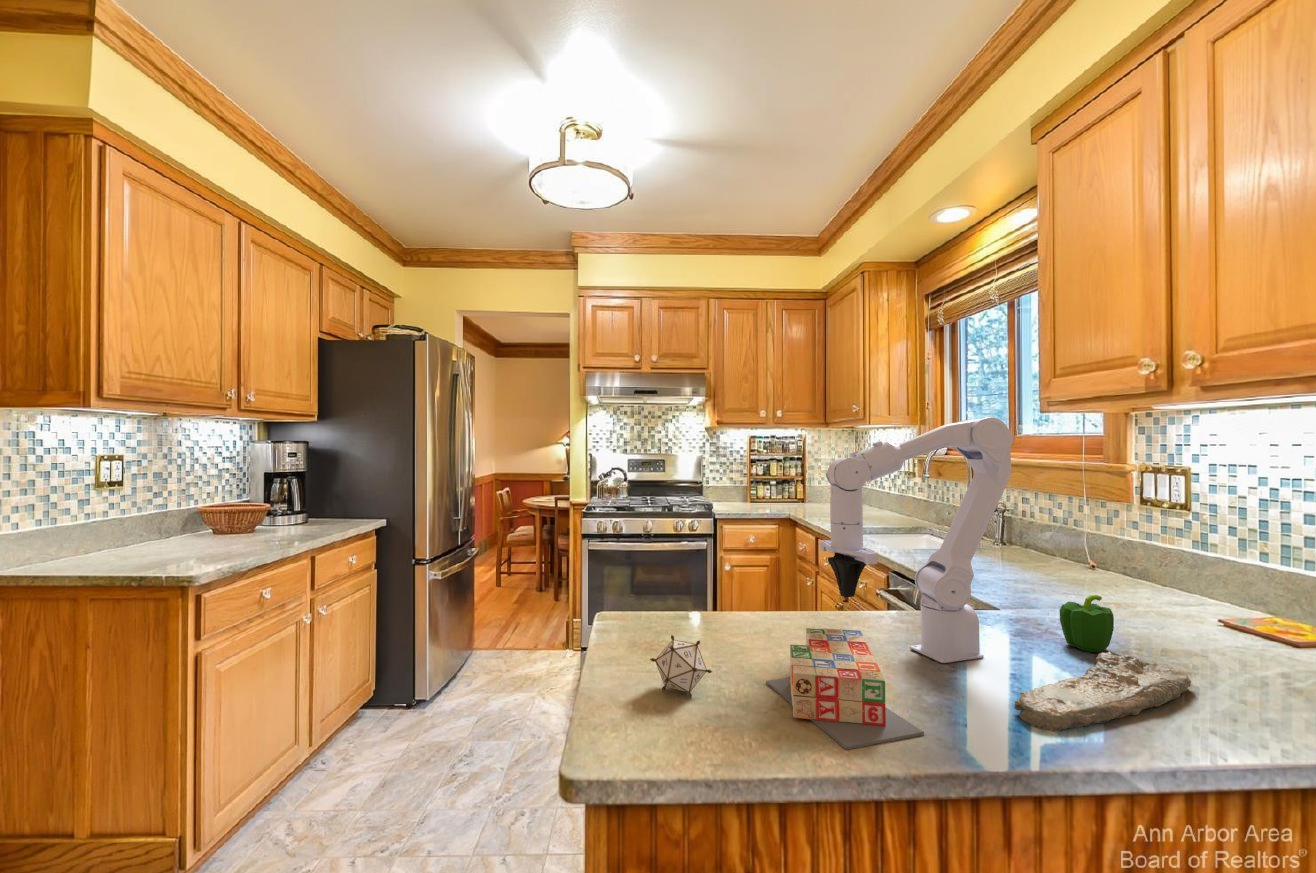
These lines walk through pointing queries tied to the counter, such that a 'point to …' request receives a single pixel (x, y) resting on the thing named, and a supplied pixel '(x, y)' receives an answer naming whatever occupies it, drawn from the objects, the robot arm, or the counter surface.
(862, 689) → the stack of blocks
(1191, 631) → the counter surface
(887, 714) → the mat
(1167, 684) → the long grey stone
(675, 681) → the game die
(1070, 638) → the bell pepper
